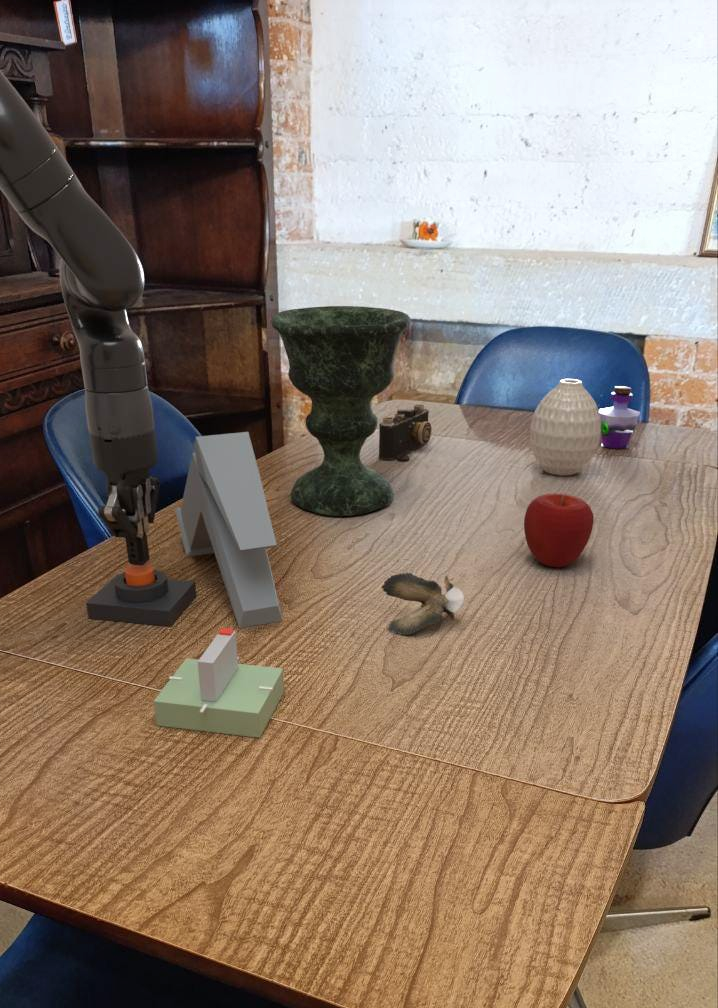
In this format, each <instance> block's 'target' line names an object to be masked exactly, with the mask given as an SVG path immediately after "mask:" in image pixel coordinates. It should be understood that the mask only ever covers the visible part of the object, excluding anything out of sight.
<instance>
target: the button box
mask: <svg viewBox="0 0 718 1008" xmlns="http://www.w3.org/2000/svg"><path fill="white" fill-rule="evenodd" d="M154 575H155V582H154V583H151V584H148V585H144V586H129V585H127V584H126V577H125V572H123V573H119V574H116V575H115V576H114V577H112V579H110V580H109V581H108V582H107V583H106V584H104V586H103V587H102V588H101V589H100V590H98V591H97V593H96V594H94V595H93V596H91V598H90V599H88V601H87V602H86V603H85V604H86V610H87V617H88V619H91V620H100V621H101V620H102V621H111V622H120V623H130V624H140V625H150V626H161V627H172V626H173V625H174V623H175V622H176V621H177V620H178V619H179V618H180V617H181V615H182V614H183V613H184V612H185V611H186V609H187V608H188V607H189V606H190V605H191V603H192V602H193V601H194V600H195V599H196V597H197V587H196V581H195V580H183V579H173V578H172V579H171V578H168V577H167V574H166V573H165V572H163V571H161V570H158V569H154Z"/></svg>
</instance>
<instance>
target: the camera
mask: <svg viewBox="0 0 718 1008" xmlns="http://www.w3.org/2000/svg"><path fill="white" fill-rule="evenodd" d="M429 413H430V410H429V409H428V408H425V405H424V404H414V405H413V408H412V409H397V411H396V413H395V414H394V417H389V416H388V417H387V416H386V417H383V418H382V422H380V423H379V424H378V425H379V426H378V427H379V428H378V429H379V431H378V432H379V434H378V435H379V436H378V437H379V438H378V459H379V460H381V461H385V462H386V461H388V462H390V461H394V460H396V459H397V461H399V462H408V461H409V460H410V454H412V451H414V450H417V449H419V448H421V447H423V446H425V445H427V444H428V443H429V441H430V439H431V436H432V430H433V429H432V424H431V422H429V416H430V415H429Z"/></svg>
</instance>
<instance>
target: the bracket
mask: <svg viewBox="0 0 718 1008" xmlns="http://www.w3.org/2000/svg"><path fill="white" fill-rule="evenodd" d="M193 448H194V452H192V454H191V460H190V464H189V468H188V473H187V476H186V477H187V478H186V482H185V487H184V492H183V496H182V501H181V505H180V507H175V508H174V513H175V516H176V520H177V524H178V528H179V529H178V530H179V533H180V536H181V540H182V545H183V549H184V552H185V553H184V554H185V557H193V556H201V555H208V554H214V556H215V559H216V562H217V564H218V569H219V571H220V574H221V577H222V581H223V583H224V586H225V589H226V592H227V595H228V599H229V601H230V605H231V607H232V608H231V609H232V611H233V614H234V617H235V620H236V623H237V625H238V629H242V628H243V629H245V628H249V627H254V626H261V625H267V624H272V623H273V624H274V623H278V622H283V617H282V612H281V611H282V610H281V608H280V603H279V598H278V594H277V589H276V585H275V580H274V576H273V572H272V568H271V563H270V558H269V554H268V550H267V549H269V548H276V547H277V546H278V543H277V540H276V536H275V532H274V528H273V524H272V520H271V516H270V512H269V508H268V504H267V500H266V499H267V498H266V495H265V491H264V486H263V482H262V478H261V474H260V470H259V466H258V462H257V458H256V455H255V452H254V448H253V444H252V440H251V437H250V432H249V431H242V432H233V433H232V432H231V433H221V434H210V435H201V436H200V435H199V436H195V439H194V444H193Z"/></svg>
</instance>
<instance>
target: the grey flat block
mask: <svg viewBox="0 0 718 1008" xmlns="http://www.w3.org/2000/svg"><path fill="white" fill-rule="evenodd" d="M238 657H239V656H238V643H237V631H236V630H234V629H233V628H224V627H223V628H220V630H219V631H218V633H217V635H216V636H215V637H214V638H213V640H211V643H210V644H209V645H208V647H207V648H206V649H205V650H204V652H203V654H202V655H201V656H200V658H198V672H199V683H200V693H201V700H204V701H212V702H216V701H217V700H218V698H219V697H220V695H221V694H222V692H223V691H224V689H225V687H226V686H227V684H228V683H229V681H230V680H231V678H232V677H233V675H234V674H235V672H236V671H237V669H238V664H239V659H238Z"/></svg>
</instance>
